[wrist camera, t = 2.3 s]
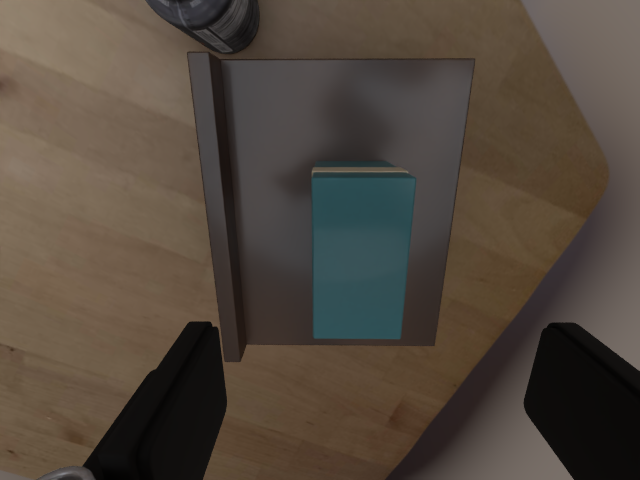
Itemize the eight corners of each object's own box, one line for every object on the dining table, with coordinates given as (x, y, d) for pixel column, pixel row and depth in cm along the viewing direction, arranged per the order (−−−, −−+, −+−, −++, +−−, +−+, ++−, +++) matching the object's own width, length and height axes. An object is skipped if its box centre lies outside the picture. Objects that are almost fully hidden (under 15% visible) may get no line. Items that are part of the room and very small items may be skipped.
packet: (388, 160, 20) (418, 176, 14) (380, 280, 23) (401, 340, 17) (314, 160, 21) (310, 176, 14) (315, 279, 23) (311, 339, 17)
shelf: (424, 81, 28) (493, 50, 17) (404, 286, 35) (443, 364, 23) (241, 81, 28) (186, 51, 17) (256, 285, 35) (224, 362, 24)
